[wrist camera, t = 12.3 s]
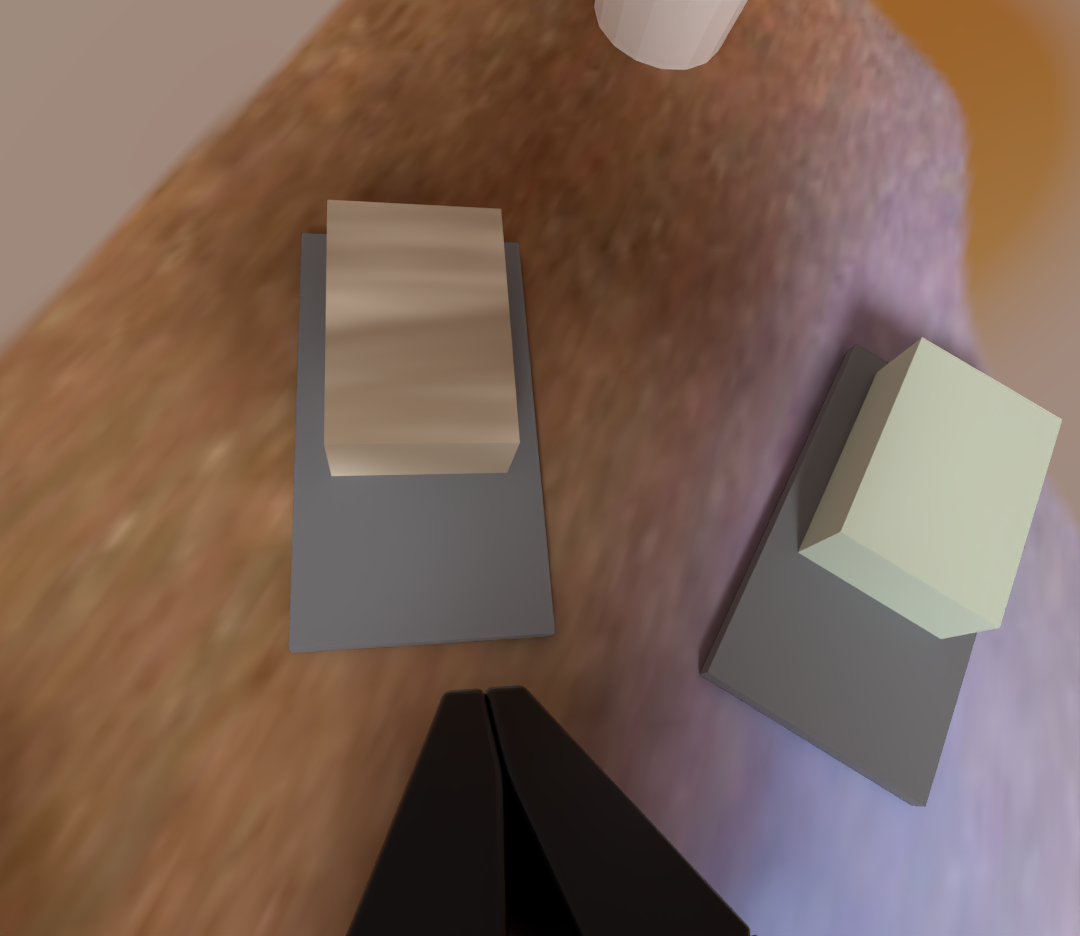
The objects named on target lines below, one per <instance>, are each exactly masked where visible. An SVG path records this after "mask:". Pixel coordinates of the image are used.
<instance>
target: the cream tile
mask: <svg viewBox="0 0 1080 936" xmlns="http://www.w3.org/2000/svg"><path fill="white" fill-rule="evenodd" d="M519 444H520V438H519V425H518V413H517V400H516V388H515V375H514V363H513V350H512V338H511V326H510V313H509V301H508V288H507V276H506V263H505V251H504V238H503V226H502V213H501V209H495V208H476V207H456V206H437V205H418V204H399V203H380V202H361V201H342V200H327V258H326V333H325V408H324V447H325V451H326V455H327V459H328V463H329V468H330V472H331V476H363V475H416V474H468V473H507V472H508V470H509V467H510V465H511V463H512V460H513V458H514V455H515V453H516V451H517V448H518V446H519Z"/></svg>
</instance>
